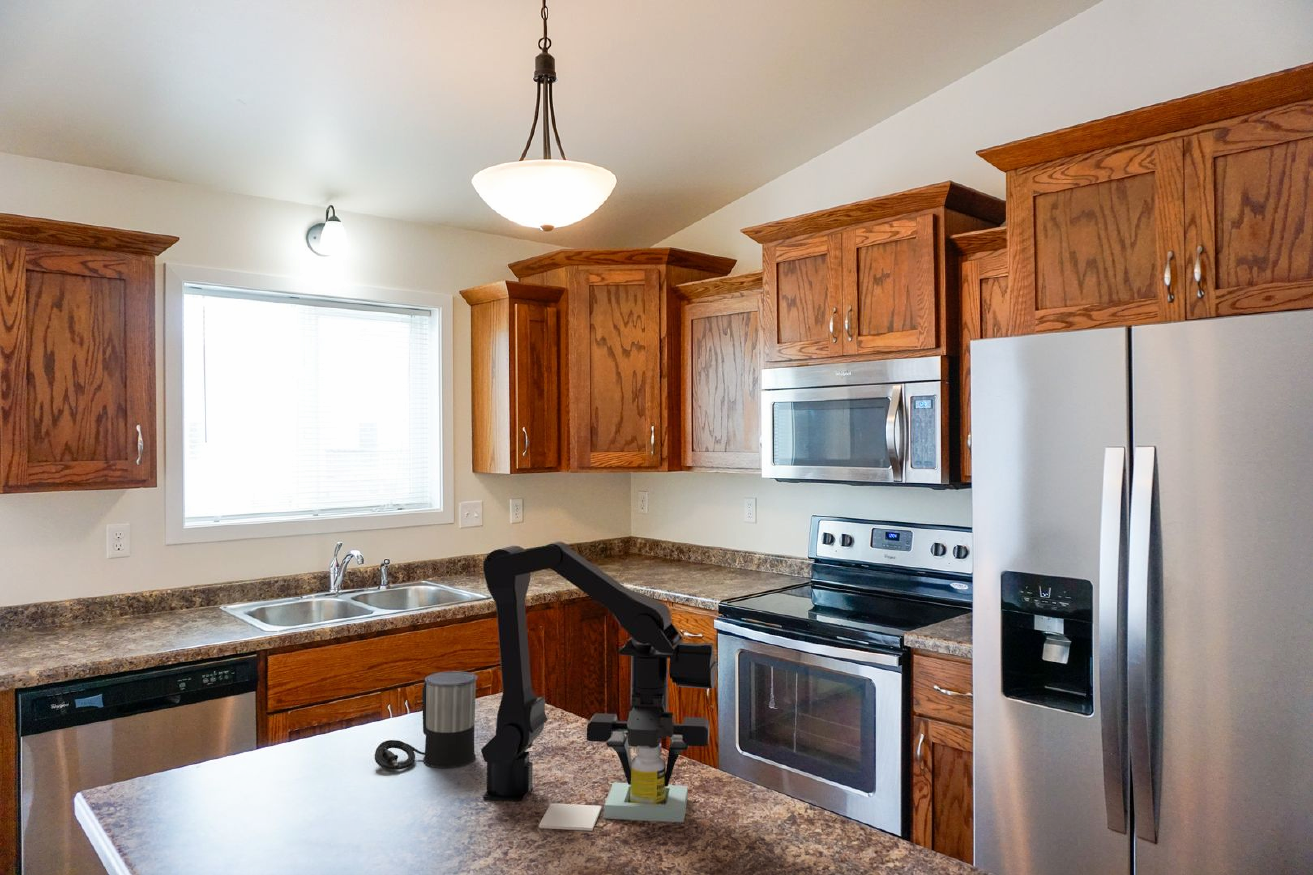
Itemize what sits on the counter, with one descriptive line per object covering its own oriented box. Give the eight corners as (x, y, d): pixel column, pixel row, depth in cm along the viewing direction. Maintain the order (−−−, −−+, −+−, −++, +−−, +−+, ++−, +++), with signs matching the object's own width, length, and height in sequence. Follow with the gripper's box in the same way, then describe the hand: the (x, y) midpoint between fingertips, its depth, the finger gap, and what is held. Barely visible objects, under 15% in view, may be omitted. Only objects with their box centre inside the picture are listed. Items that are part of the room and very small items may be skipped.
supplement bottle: (661, 816, 130) (662, 751, 130) (626, 813, 131) (627, 748, 131) (668, 802, 135) (668, 739, 136) (634, 799, 136) (635, 737, 137)
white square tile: (538, 827, 126) (538, 824, 126) (550, 805, 134) (550, 803, 134) (592, 830, 125) (592, 827, 125) (601, 808, 133) (601, 805, 133)
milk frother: (487, 757, 155) (488, 675, 155) (420, 785, 142) (421, 695, 142) (432, 743, 163) (433, 664, 163) (363, 767, 149) (364, 682, 150)
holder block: (604, 818, 129) (604, 804, 129) (613, 794, 138) (613, 782, 138) (683, 822, 128) (683, 808, 128) (687, 798, 137) (687, 785, 137)
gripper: (580, 695, 127) (579, 802, 126) (706, 700, 125) (705, 809, 124) (593, 676, 138) (592, 774, 137) (709, 681, 136) (709, 780, 135)
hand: (648, 784), depth 133 cm, fingers closed on supplement bottle, 5 cm apart
